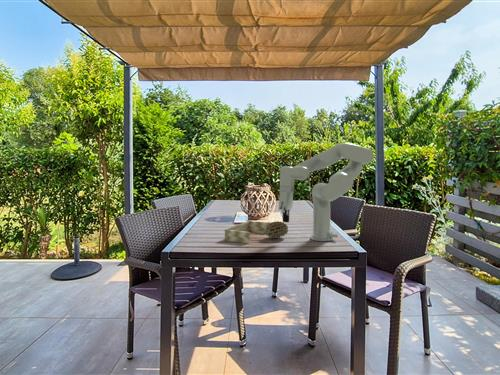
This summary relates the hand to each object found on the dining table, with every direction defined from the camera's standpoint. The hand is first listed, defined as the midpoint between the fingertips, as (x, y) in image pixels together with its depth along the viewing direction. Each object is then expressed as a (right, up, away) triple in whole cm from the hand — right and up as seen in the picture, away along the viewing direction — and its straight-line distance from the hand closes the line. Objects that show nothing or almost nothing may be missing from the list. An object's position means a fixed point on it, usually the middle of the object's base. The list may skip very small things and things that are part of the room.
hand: (285, 221), depth 179 cm
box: (-20, -10, +12) cm, 26 cm away
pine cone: (-9, -10, +6) cm, 15 cm away
